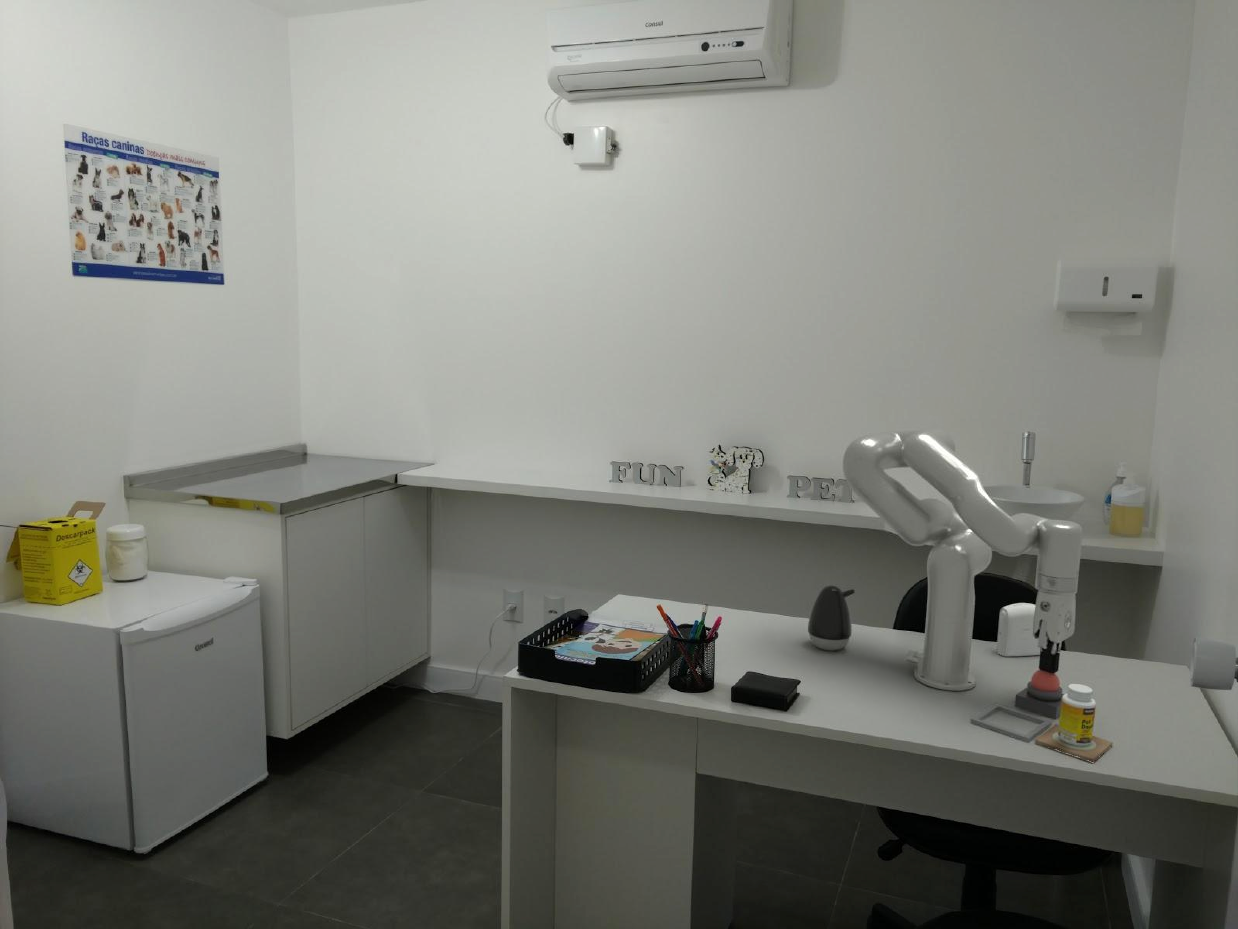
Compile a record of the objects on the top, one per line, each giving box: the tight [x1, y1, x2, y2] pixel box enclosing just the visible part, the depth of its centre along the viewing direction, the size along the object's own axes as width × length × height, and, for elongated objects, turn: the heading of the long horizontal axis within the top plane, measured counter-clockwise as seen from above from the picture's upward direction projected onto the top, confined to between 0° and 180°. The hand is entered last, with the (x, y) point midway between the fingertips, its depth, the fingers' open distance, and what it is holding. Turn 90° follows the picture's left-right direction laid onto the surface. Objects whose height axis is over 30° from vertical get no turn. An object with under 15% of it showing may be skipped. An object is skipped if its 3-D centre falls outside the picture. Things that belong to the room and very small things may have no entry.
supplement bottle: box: [1058, 683, 1097, 746], centre depth 162 cm, size 6×6×10 cm
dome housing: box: [1014, 687, 1065, 720], centre depth 179 cm, size 8×8×2 cm
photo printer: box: [996, 602, 1040, 657], centre depth 208 cm, size 10×4×12 cm, turn 99°
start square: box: [970, 702, 1053, 743], centre depth 171 cm, size 11×11×1 cm
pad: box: [1034, 723, 1114, 763], centre depth 163 cm, size 10×10×1 cm
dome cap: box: [1026, 669, 1063, 701], centre depth 179 cm, size 6×6×8 cm
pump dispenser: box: [807, 584, 856, 652], centre depth 210 cm, size 10×10×15 cm
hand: (1048, 670), depth 178 cm, fingers closed
